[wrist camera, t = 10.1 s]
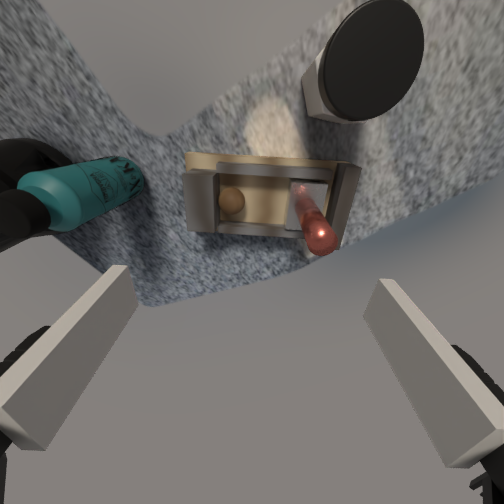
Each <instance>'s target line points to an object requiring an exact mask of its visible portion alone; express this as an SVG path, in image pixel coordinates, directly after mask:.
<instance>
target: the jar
mask: <svg viewBox="0 0 504 504" xmlns="http://www.w3.org/2000/svg"><path fill="white" fill-rule="evenodd" d="M423 51H424V33H423V28H422V24H421V21H420V19H419V17H418V15H417V13H416V12H415V10H414V9H413V8H412V7H411V6H410V5H409V4H408V3H406V2H405V1H403V0H370V1H367V2H365V3H364V4H362V5H360V6H359V7H357V8H356V9H354V10H353V11H352V12H351V13H350V14H349V15H348V16H347V17H346V18H345V19H344V20H343V22H342V23H341V24H340V25H339V27H338V28H337V29H336V31H335V32H334V33H333V35H332V36H331V38H330V39H329V41H328V43H327V44H326V46H325V47H324V48H323V50H322V51H321V52H320V53H319V55H318V56H317V57H316V58H315V60H314V61H313V62H312V64H311V65H310V66H309V68H308V69H307V70H306V72H305V73H304V74H303V76H302V77H301V80H302V85H303V91H304V96H305V102H306V107H307V113H308V116H309V117H313V118H317V119H321V120H325V121H329V122H333V123H338V124H349V123H365V122H366V121H367V120H368V119H372V118H375V117H377V116H380V115H382V114H383V113H385V112H387V111H388V110H390V109H391V108H392V107H394V106H395V105H396V104H397V103H398V102H399V101H400V100H401V99H402V98H403V97H404V95H405V94H406V93H407V92H408V90H409V89H410V87H411V85H412V84H413V82H414V80H415V78H416V76H417V74H418V71H419V68H420V65H421V62H422V57H423Z"/></svg>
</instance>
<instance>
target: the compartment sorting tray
mask: <svg viewBox="0 0 504 504" xmlns="http://www.w3.org/2000/svg"><path fill="white" fill-rule="evenodd" d="M185 162H186V173H184V174H182V181H183V191H184V201H185V210H186V220H187V230H188V231H194V232H209V233H215V231H218V233H227V234H242V235H257V236H272V237H287V238H302V239H305V237H304V234H303V231H302V230H289V229H285V225H284V217H285V209H286V201H287V194H288V186H289V178H299V179H315V180H324V181H325V182H326V183H327V184H328V188H327V193H326V198H325V202H324V207H323V211H322V214H323V216H324V217H325V219H326V220H327V222H328V223H329V225H330V226H331V228H332V229H333V231H334V232H335V234H336V235H337V238H338V245H337V247H336V249H335V250H339V248H340V245H341V241H342V238H343V234H344V230H345V227H346V223H347V220H348V216H349V213H350V209H351V206H352V202H353V198H354V195H355V191H356V188H357V184H358V181H359V177H360V173H361V170H362V168H361V167H358V166H356V165H354V164H352V163H349V162H347V161H331V160H315V159H298V158H282V157H265V156H249V155H232V154H216V153H199V152H187V153H185ZM229 187H234V188H237V189H239V190H240V191H241V192H242V193H243V195H244V197H245V206H244V208H243V209H242V211H241V212H239V213H237V214H234V215H230V214H227V213H225V212H223V211H222V210H221V208H220V206H219V203H218V199H219V195H220V193H221V192H222V191H223V190H224V189H226V188H229Z"/></svg>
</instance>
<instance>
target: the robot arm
mask: <svg viewBox="0 0 504 504" xmlns="http://www.w3.org/2000/svg"><path fill="white" fill-rule="evenodd" d="M69 165H73V163H72V162H71V161H70V160H69V159H68V158H67V157H66V156H65V155H63V154H62V153H61V152H59V151H58V150H56V149H55V148H53V147H51V146H50V145H48V144H46V143H43V142H41V141H38V140H34V139H28V138H16V139H4V140H0V193H2V192H4V191H7V190H11V189H17V186H18V182H19V180H20V179H21V178H22V177H23V176H24V175H25V174H27V173H30V172H35V171H44V170H49V169H54V168H59V167H64V166H69ZM81 225H82V224H81ZM79 226H80V225H79ZM65 232H68V231H65ZM65 232H61V231H55V230H51V229H47V230H45V231H43V232H41V233H38V234H34V235H32V236H29V237H26V238H13V237H10V236H7V235H5V234H3V233H1V232H0V252H2V251H4V250H6V249H8V248H10V247H12V246H14V245H16V244H18V243H20V242H22V241H24V240H26V239H29V238H31V237H38V236H45V235H53V234H60V233H65ZM137 307H138V301H137V297H136V294H135V290H134V287H133V283H132V279H131V276H130V272H129V268H128V266H124V265H112V266H111V267H110V268H109V269H108V270H107V271H106V272H105V273H104V274H103V275H102V276H101V277H100V278H99V279H98V280H97V281H96V282H95V283H94V284H93V285H92V286H91V287H90V288H89V289H88V290H87V291H86V292H85V293H84V294H83V295H82V296H81V297H80V298H79V299H78V300H77V301H76V302H75V303H74V304H73V305H72V306H71V307H70V308H69V309H68V310H67V311H66V312H65V313H64V314H63V315H62V316H61V317H60V318H59V319H58V320H57V321H56V322H55V323H54V324H53V325H52V326H44V327H42V328H40V329H39V330H37V331H36V332H34V333H33V334H31V335H29V336H28V337H27V338H26V339H25V340H24V341H23V342H22V343H21V344H19V345H18V346H17V347H16V348H15V351H12V352H11V353H10V354H9V355H8V356H7V357H6V358H5V359H4V361H3V362H0V504H4V503H3V502H4V491H5V479H6V467H7V457H6V453H5V451H6V450H7V448H8V447H9V446H10V444H11V443H12V442H13V443H14V444H15V445H16V446H17V447H19V448H20V449H21V450H38V451H45V450H46V449H47V447H48V446H49V444H50V443H51V441H52V439H53V438H54V436H55V435H56V433H57V432H58V430H59V428H60V427H61V425H62V424H63V422H64V421H65V419H66V418H67V416H68V414H69V413H70V411H71V410H72V408H73V407H74V405H75V403H76V402H77V400H78V399H79V397H80V396H81V394H82V393H83V391H84V390H85V388H86V386H87V385H88V383H89V382H90V380H91V379H92V377H93V376H94V374H95V372H96V371H97V369H98V367H99V366H100V365H101V363H102V361H103V360H104V358H105V357H106V355H107V354H108V352H109V351H110V349H111V347H112V346H113V344H114V343H115V341H116V340H117V338H118V337H119V335H120V333H121V332H122V330H123V329H124V327H125V326H126V324H127V322H128V321H129V319H130V318H131V316H132V315H133V313H134V311H135V310H136V308H137ZM363 317H364V319H365V321H366V323H367V325H368V326H369V328H370V330H371V332H372V334H373V336H374V337H375V339H376V341H377V343H378V345H379V346H380V348H381V350H382V352H383V354H384V355H385V357H386V359H387V361H388V363H389V365H390V366H391V368H392V370H393V372H394V374H395V376H396V377H397V379H398V381H399V383H400V385H401V387H402V388H403V390H404V392H405V394H406V396H407V397H408V399H409V401H410V403H411V405H412V407H413V408H414V410H415V412H416V414H417V416H418V417H419V419H420V421H421V423H422V425H423V427H424V428H425V430H426V432H427V434H428V436H429V437H430V439H431V441H432V443H433V445H434V447H435V448H436V450H437V452H438V454H439V456H440V458H441V459H442V461H443V463H444V465H445V467H447V468H470V467H472V466H473V465H475V464H476V463H478V462H479V461H480V462H481V464H482V465H483V467H484V468H485V470H486V472H485V473H483V474H482V475H480V476H479V477H477V478H475V479H474V480H472V481H471V483H470V486H469V487H470V488H471V489H473V490H475V489H476V488H478V487H480V486H483V492H482V493H481V494H480V495H481V496H482V497H483V504H504V392H503V390H502V389H501V388H500V387H499V386H498V385H497V384H495V383H494V381H493V380H492V378H491V377H490V376H489V375H488V374H487V373H484V370H483V369H482V368H481V366H480V365H479V364H478V363H477V362H476V361H475V360H474V359H473V358H472V357H471V356H470V355H469V354H467V353H466V352H465V351H463V350H462V349H461V348H459V347H458V346H457V345H450V344H449V343H448V342H447V341H446V340H445V338H444V337H443V336H442V335H441V334H440V333H439V331H438V330H437V329H436V328H435V327H434V326H433V325H432V323H431V322H430V321H429V320H428V319H427V318H426V317H425V315H424V314H423V313H422V312H421V311H420V310H419V308H418V307H417V306H416V305H415V304H414V303H413V302H412V301H411V299H410V298H409V297H408V296H407V295H406V294H405V292H404V291H403V290H402V289H401V288H400V287H399V286H398V284H397V283H396V282H395V281H394V280H393V279H379V280H378V282H377V284H376V287H375V289H374V291H373V294H372V296H371V298H370V301H369V303H368V305H367V308H366V310H365V313H364V315H363Z"/></svg>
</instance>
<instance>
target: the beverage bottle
mask: <svg viewBox="0 0 504 504" xmlns="http://www.w3.org/2000/svg"><path fill="white" fill-rule="evenodd" d="M86 161H87V160H86ZM86 161H85V162H83V161H82V162H83V163H80V162H79V163H78V162H77V164H73V165H69V166H64V167H59V168H54V169H49V170H44V171H35V172H30V173H27V174H25V175H24V176H23V177H22V178H21V179H20V180H19V182H18V186H17V189H11V190H7V191H4V192H2V193H0V232H1V233H3V234H5V235H7V236H10V237H13V238H26V237H29V236H32V235H34V234H38V233H41V232H43V231H45V230H47V229H51V230H55V231H61V232H65V231H71V230H73V229H75V228H77V227H78V226H79V225H81V224H83V223H85V222H87V221H89V220H91V219H93V218H95V217H97V216H99V215H101V214H103V213H107V212H108V211H109V210H111V209H113V208H114V209H115V207H116V208H117V206H119V205H120V204H122V203H124V202H126V201H128V200H129V201H130V199H132V198H134V197H136V196H137V195H139V194H141V193H140V192H141V191H142V190H143V186H144V178H143V175H142V172H141V170H140V169H139V167H138V166H137V165H136V164H135V163H133V162H132V161H131V160H129V159H127V158H125V157H115V156H110V158H108V157H105V158H104V159H103V158H99V159H95V160H93V159H92V160H91V161H89V162H86ZM129 201H128V202H129ZM126 203H127V202H126ZM124 204H125V203H124ZM122 205H123V204H122ZM120 206H121V205H120ZM114 209H113V210H114Z"/></svg>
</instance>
